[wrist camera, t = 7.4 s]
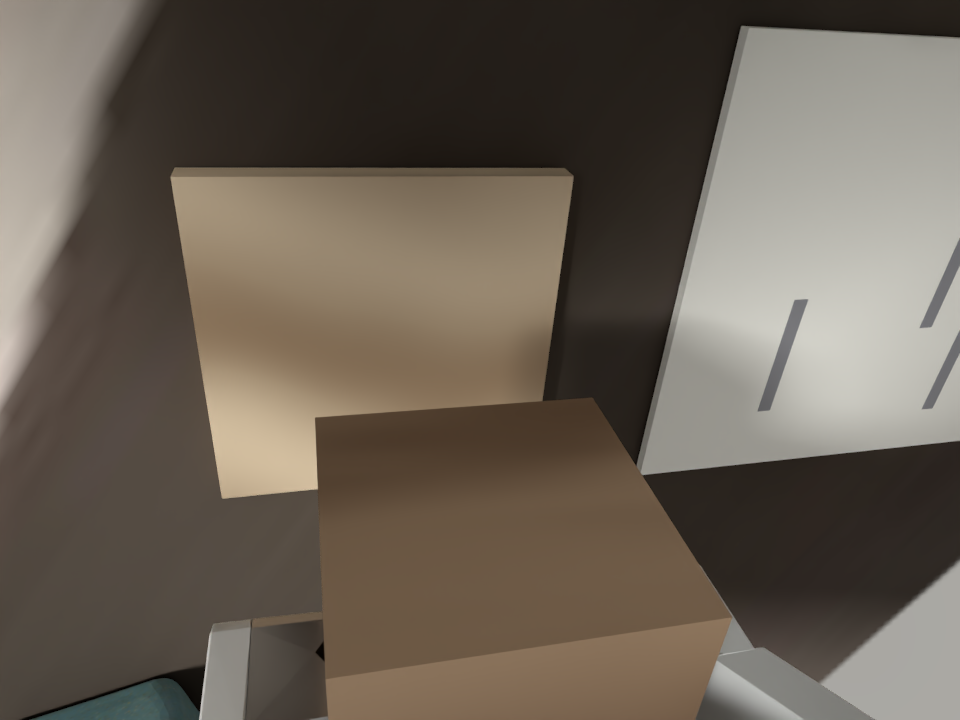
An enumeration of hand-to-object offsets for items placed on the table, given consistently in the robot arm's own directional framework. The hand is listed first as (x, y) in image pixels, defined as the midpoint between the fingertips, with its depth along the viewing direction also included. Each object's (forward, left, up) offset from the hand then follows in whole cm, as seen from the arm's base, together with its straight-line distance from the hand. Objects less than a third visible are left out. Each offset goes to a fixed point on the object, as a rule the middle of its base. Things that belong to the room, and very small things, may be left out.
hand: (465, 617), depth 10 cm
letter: (-1, +16, -8) cm, 18 cm away
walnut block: (0, 0, -1) cm, 1 cm away
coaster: (0, 0, -8) cm, 8 cm away
